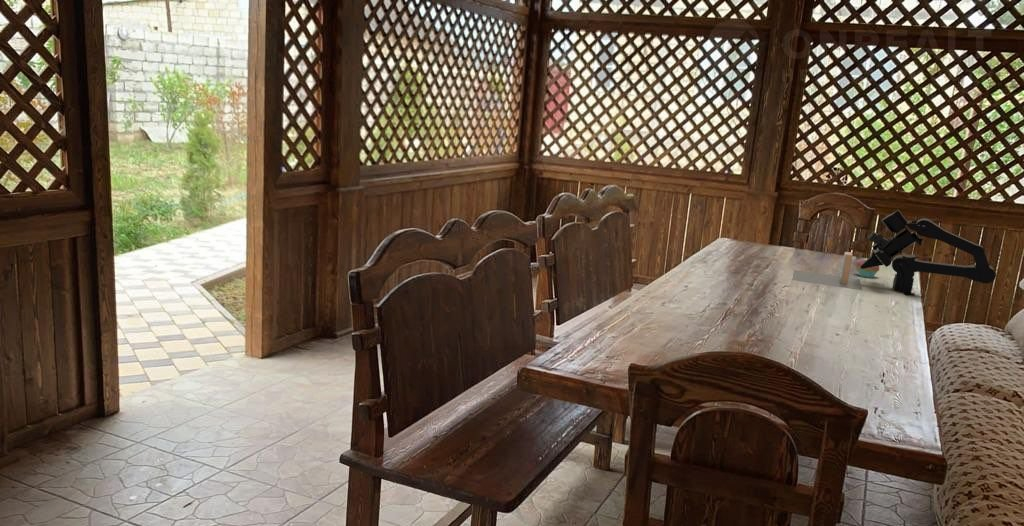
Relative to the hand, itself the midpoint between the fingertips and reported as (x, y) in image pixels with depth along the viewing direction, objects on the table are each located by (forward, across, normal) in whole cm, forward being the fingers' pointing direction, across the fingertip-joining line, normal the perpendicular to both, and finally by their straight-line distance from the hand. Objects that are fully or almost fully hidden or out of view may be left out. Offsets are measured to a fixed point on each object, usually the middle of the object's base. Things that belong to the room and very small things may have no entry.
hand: (860, 267), depth 275 cm
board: (+13, 0, -3) cm, 13 cm away
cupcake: (+2, -19, +8) cm, 21 cm away
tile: (+8, 0, +1) cm, 8 cm away
